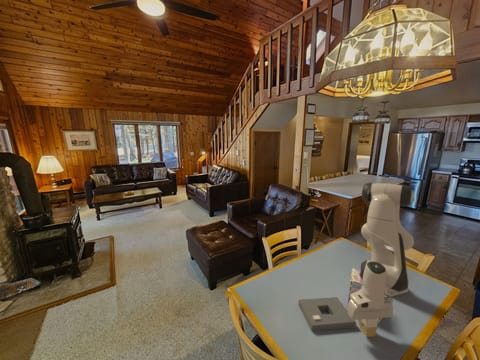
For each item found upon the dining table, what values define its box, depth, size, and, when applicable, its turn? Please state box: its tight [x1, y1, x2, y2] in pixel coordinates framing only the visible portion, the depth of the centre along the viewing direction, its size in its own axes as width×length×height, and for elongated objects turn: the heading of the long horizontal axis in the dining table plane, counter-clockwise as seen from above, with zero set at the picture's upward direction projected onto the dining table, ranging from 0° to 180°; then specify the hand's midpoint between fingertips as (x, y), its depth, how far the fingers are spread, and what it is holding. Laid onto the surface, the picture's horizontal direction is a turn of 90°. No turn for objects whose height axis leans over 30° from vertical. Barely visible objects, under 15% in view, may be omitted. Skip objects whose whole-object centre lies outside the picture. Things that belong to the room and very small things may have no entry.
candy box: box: [347, 267, 363, 304], centre depth 112 cm, size 14×6×16 cm, turn 148°
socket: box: [298, 296, 357, 332], centre depth 104 cm, size 22×16×4 cm
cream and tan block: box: [359, 318, 378, 338], centre depth 94 cm, size 4×4×9 cm
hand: (368, 324), depth 94 cm, fingers open, 6 cm apart
